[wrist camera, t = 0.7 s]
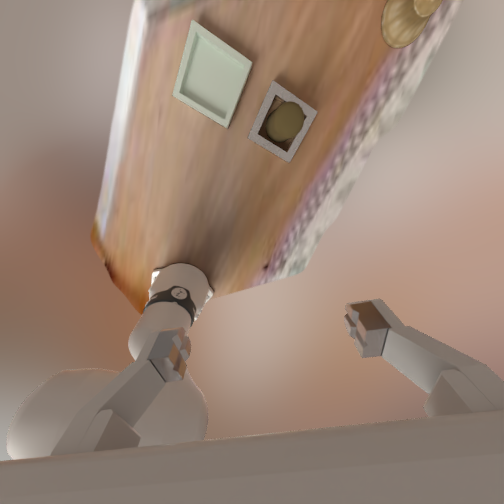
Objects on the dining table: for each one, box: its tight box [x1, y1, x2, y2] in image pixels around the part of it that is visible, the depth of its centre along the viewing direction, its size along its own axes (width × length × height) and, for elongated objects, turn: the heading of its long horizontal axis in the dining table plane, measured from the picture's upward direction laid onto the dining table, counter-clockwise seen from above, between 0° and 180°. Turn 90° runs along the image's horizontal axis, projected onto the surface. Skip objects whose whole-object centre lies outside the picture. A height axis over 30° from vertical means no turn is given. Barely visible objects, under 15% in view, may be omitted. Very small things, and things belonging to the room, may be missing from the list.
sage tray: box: [172, 20, 252, 129], centre depth 36 cm, size 11×11×2 cm
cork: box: [266, 101, 304, 143], centre depth 36 cm, size 6×6×11 cm
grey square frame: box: [248, 81, 317, 163], centre depth 39 cm, size 10×10×2 cm
